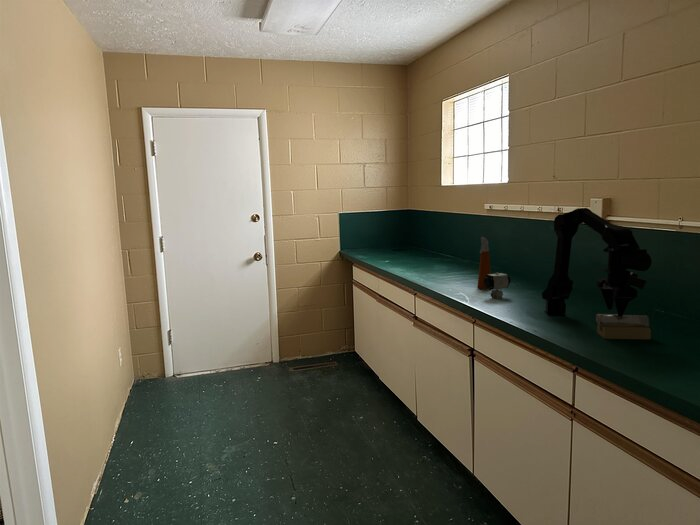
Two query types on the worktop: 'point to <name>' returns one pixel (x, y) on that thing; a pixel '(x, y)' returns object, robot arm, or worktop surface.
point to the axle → (624, 320)
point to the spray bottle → (484, 263)
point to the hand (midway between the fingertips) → (614, 312)
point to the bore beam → (602, 314)
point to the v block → (624, 332)
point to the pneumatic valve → (497, 283)
